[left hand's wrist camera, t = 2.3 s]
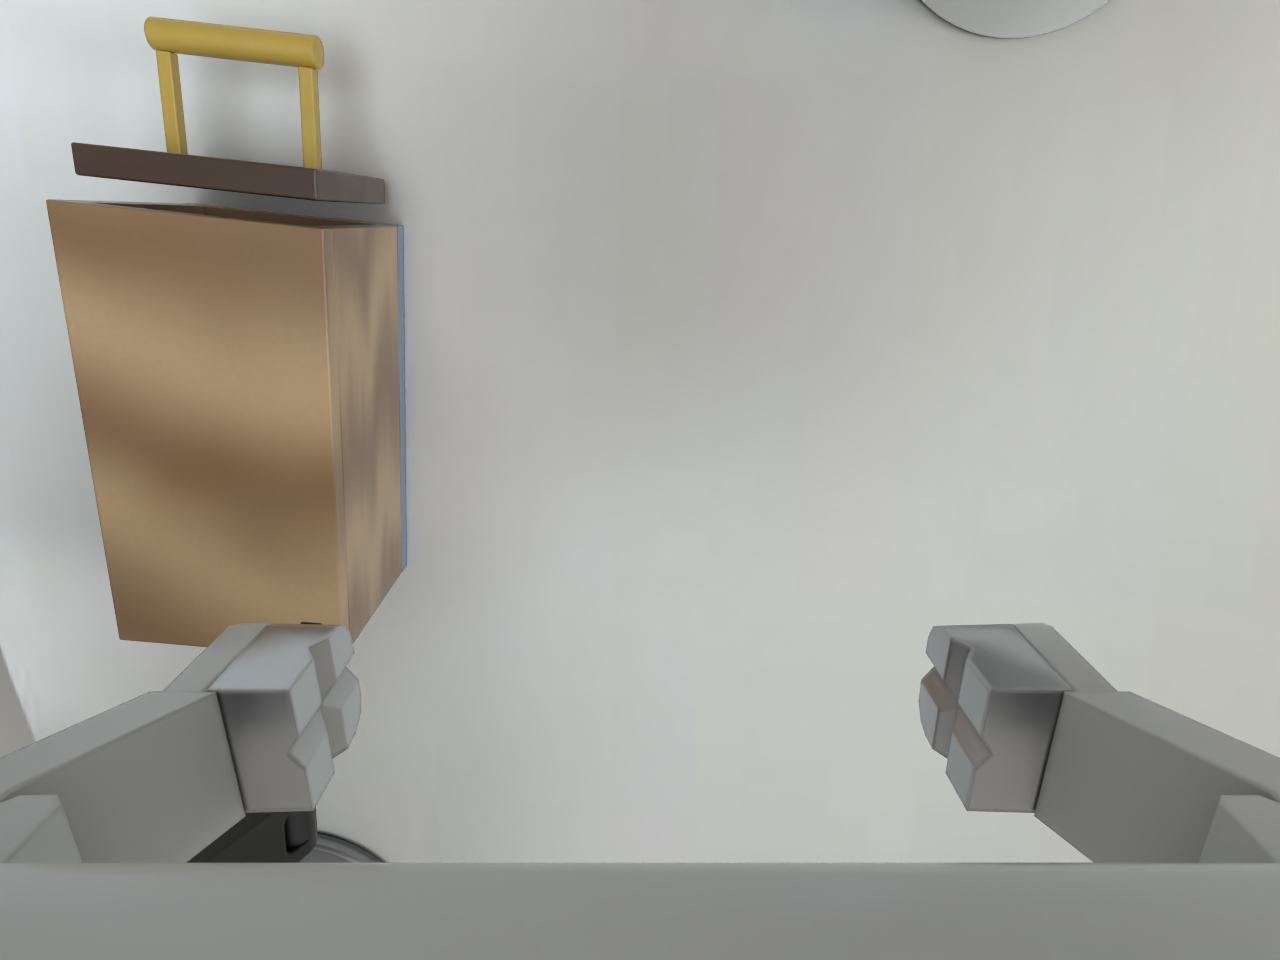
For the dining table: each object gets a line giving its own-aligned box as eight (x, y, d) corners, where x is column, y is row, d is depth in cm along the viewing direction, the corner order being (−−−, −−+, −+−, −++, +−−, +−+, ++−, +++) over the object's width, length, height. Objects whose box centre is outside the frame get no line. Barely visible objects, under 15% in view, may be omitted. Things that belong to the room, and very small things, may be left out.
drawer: (179, 36, 34) (45, -16, 27) (382, 60, 35) (308, 14, 27) (227, 504, 43) (134, 568, 35) (390, 519, 43) (335, 586, 35)
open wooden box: (195, 203, 38) (44, 198, 28) (403, 225, 38) (323, 228, 29) (231, 549, 45) (118, 640, 35) (406, 565, 45) (343, 659, 35)
